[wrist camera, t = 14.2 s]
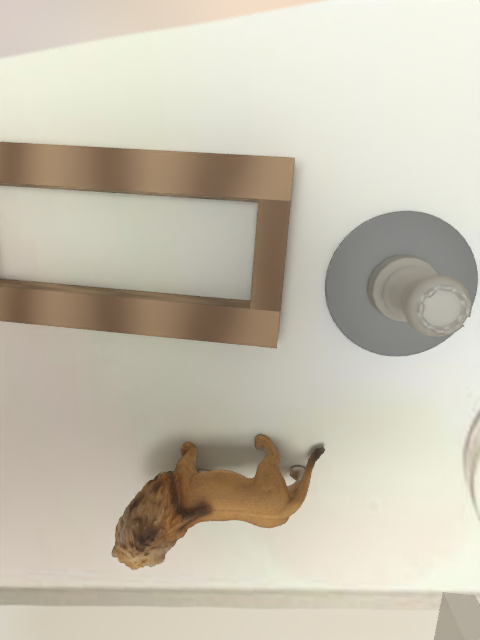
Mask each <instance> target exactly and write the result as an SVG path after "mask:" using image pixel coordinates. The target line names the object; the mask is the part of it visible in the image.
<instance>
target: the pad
mask: <svg viewBox="0 0 480 640" xmlns="http://www.w3.org/2000/svg"><path fill="white" fill-rule="evenodd" d="M398 255H412V256H415V257H417V258H419V259H421V260H423V261H425V262H427V263H429V264H430V265H431V266H432V268H433V269H434V270H435V271H436V273H437V274H438V275H447V276H451V277H453V278H455V279H457V280H459V281H461V282H462V284H463V285H464V286H465V287H466V289H467V290H468V292H469V296H470V300H471V306H470V307H472V305H473V303H474V299H475V296H476V291H477V284H478V273H477V267H476V262H475V259H474V255H473V253H472V251H471V249H470V247H469V245H468V243H467V242H466V240H465V239H464V238H463V237H462V235H461V234H460V233H459V232H458V231H457V230H456V229H455V228H453V227H452V226H451V225H450V224H448V223H446V222H445V221H443V220H441V219H439V218H437V217H435V216H432V215H429V214H425V213H420V212H412V211H402V212H394V213H388V214H385V215H381V216H378V217H375V218H373V219H370V220H369V221H367V222H365V223H363V224H361V225H360V226H359V227H357V228H356V229H355V230H353V231H352V232H351V233H350V234H349V235H348V236H347V237H346V238H345V239H344V240H343V241H342V243H341V244H340V245H339V247H338V248H337V250H336V251H335V253H334V255H333V257H332V259H331V261H330V264H329V267H328V270H327V276H326V284H325V292H326V300H327V305H328V308H329V311H330V314H331V316H332V318H333V320H334V321H335V323H336V325H337V326H338V328H339V329H340V330H341V332H342V333H343V334H344V335H345V336H346V337H347V338H348V339H349V340H351V341H352V342H353V343H354V344H356V345H358V346H359V347H361V348H363V349H365V350H368V351H370V352H373V353H376V354H380V355H386V356H408V355H413V354H418V353H421V352H424V351H427V350H429V349H431V348H433V347H435V346H437V345H439V344H440V343H442V342H443V341H445V340H446V339H447V338H449V337H450V336H451V335H452V334H453V333H454V332H455V331H454V332H452V333H451V334H447V335H443V336H440V337H433V336H425V335H423V334H421V333H419V332H417V331H415V330H414V329H413V328H412V327H411V325H410V324H409V323H408V322H401V321H393V320H391V319H389V318H387V317H385V316H383V315H381V314H379V313H378V312H377V310H376V309H375V308H374V307H373V306H372V304H371V302H370V298H369V295H368V285H369V279H370V277H371V275H372V274H373V272H374V270H375V268H376V267H377V266H379V265H380V264H381V263H382V262H384V261H385V260H386V259H388V258H391V257H394V256H398Z"/></svg>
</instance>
